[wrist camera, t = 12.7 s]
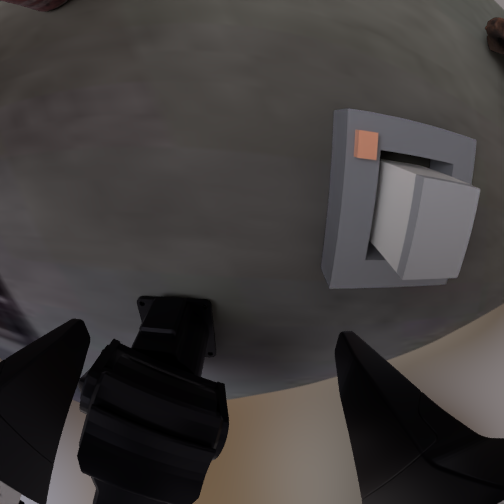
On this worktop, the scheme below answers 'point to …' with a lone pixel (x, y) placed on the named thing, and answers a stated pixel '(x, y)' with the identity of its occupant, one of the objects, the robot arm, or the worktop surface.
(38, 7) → the can
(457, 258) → the plug
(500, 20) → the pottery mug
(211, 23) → the worktop surface
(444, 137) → the socket block
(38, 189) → the worktop surface
